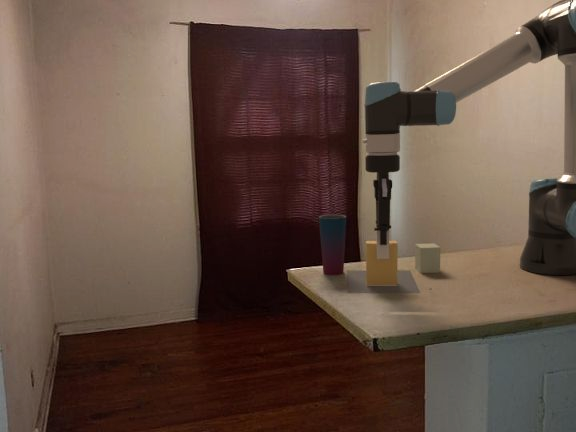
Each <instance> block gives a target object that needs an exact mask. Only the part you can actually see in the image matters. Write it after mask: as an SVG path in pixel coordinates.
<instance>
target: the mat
mask: <svg viewBox="0 0 576 432" xmlns="http://www.w3.org/2000/svg"><path fill="white" fill-rule="evenodd" d="M346 281H347V282H346V285H347V286H346V289H347V294H352V293H354V294H356V293H357V294H360V293H361V294H371V293H372V294H376V293H377V294H378V293H380V294H382V293H383V294H385V293H386V294H391V293H393V294H394V293H395V294H405V293H406V294H408V293H409V294H413V293H414V294H419V293H421V291H420V289H419V287H418V285H417V283H416V282H417V281H416V280H415V278H414V276H413V274H412V272H411V270H405V269H404V270H402V269H401V270H398V269H397V286H367V284H366V270H346Z"/></svg>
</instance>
